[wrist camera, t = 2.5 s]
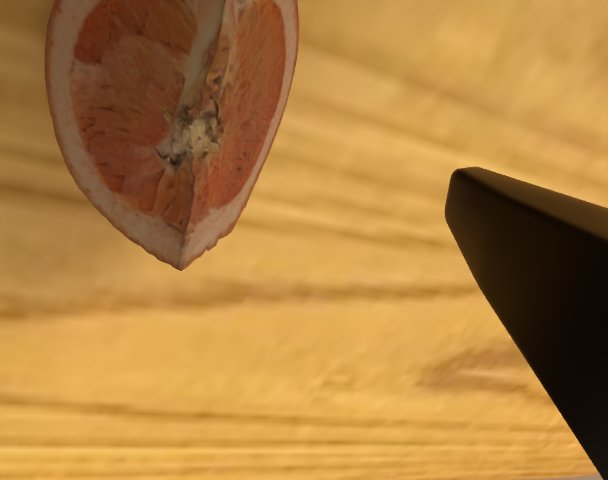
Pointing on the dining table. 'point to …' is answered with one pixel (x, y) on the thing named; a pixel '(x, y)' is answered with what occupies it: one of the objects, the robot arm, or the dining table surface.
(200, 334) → the dining table surface
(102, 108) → the fruit slice
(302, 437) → the dining table surface
